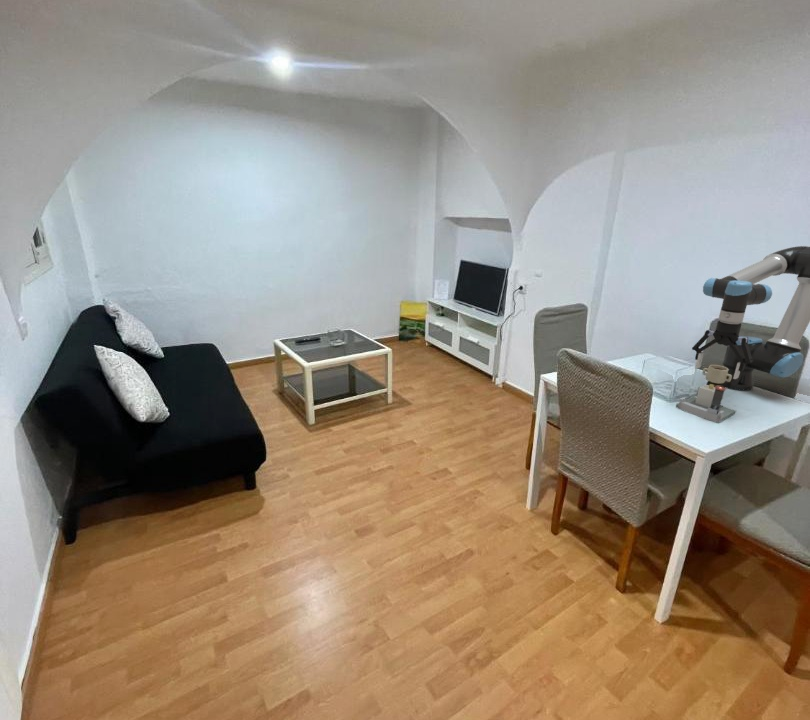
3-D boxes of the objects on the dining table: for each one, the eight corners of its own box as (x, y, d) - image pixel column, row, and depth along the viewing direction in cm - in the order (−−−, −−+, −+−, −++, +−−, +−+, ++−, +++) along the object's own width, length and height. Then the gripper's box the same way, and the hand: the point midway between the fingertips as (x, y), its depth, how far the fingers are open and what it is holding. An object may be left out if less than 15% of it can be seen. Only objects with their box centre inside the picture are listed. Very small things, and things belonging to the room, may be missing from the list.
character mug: (728, 397, 188) (736, 369, 184) (721, 401, 184) (730, 372, 180) (700, 388, 196) (708, 362, 192) (694, 392, 193) (701, 365, 188)
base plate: (692, 399, 185) (694, 390, 184) (734, 414, 173) (737, 404, 171) (675, 407, 177) (677, 397, 176) (718, 423, 165) (721, 413, 163)
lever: (710, 409, 169) (717, 384, 165) (719, 412, 166) (727, 387, 163) (706, 411, 167) (714, 386, 164) (716, 414, 165) (723, 389, 161)
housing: (702, 399, 181) (707, 380, 178) (718, 405, 176) (723, 385, 173) (695, 403, 178) (700, 383, 175) (711, 408, 173) (716, 388, 170)
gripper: (690, 316, 173) (678, 365, 180) (765, 330, 153) (748, 385, 161) (699, 313, 177) (687, 361, 184) (773, 327, 157) (757, 380, 165)
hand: (716, 372), depth 172 cm, fingers open, 13 cm apart
